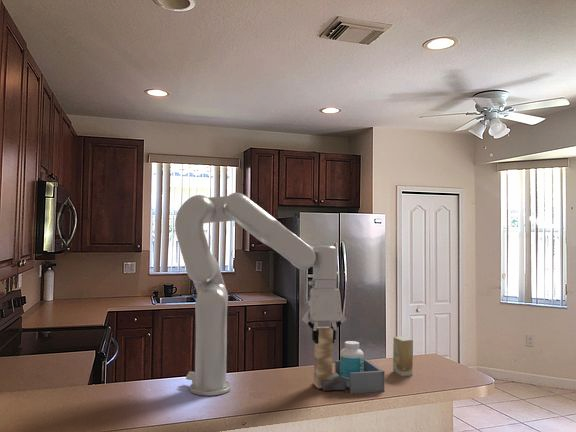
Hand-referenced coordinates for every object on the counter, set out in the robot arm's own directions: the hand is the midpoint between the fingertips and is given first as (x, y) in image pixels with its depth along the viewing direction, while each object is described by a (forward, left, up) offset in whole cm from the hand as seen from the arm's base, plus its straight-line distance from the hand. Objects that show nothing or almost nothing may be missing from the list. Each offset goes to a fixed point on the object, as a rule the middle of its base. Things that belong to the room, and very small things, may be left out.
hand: (323, 341), depth 148 cm
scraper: (+1, +1, -14) cm, 14 cm away
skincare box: (+18, +27, -14) cm, 36 cm away
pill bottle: (+7, +6, -14) cm, 17 cm away
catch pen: (+9, +8, -14) cm, 18 cm away
